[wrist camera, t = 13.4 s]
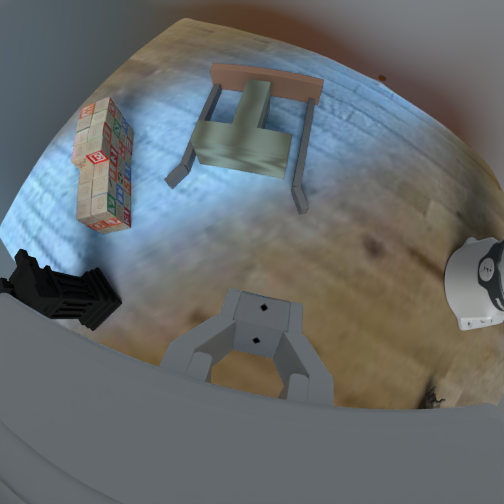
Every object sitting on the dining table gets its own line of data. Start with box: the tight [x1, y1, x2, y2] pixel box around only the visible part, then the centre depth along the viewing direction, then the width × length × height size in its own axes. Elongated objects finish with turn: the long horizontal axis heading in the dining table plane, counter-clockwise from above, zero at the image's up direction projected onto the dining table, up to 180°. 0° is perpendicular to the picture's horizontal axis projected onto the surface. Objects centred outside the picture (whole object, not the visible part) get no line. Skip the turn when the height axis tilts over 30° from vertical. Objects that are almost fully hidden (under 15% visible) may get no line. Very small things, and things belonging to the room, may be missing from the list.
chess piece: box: [0, 249, 122, 331], centre depth 33 cm, size 8×8×20 cm
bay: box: [164, 63, 324, 215], centre depth 45 cm, size 24×27×6 cm
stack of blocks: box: [71, 97, 134, 234], centre depth 41 cm, size 21×6×12 cm, turn 9°
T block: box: [190, 79, 292, 179], centre depth 44 cm, size 15×15×8 cm
